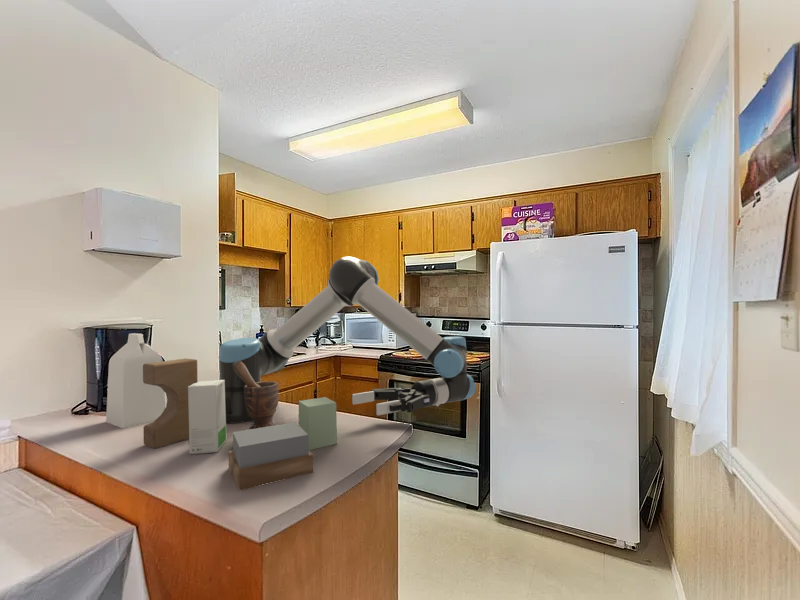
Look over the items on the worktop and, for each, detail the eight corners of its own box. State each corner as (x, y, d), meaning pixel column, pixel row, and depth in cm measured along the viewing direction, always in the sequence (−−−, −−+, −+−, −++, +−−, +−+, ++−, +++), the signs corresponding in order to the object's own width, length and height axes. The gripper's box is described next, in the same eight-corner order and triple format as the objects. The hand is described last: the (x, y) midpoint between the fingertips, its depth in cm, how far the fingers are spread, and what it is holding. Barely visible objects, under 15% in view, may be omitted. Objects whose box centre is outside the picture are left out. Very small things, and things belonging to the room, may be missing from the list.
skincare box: (217, 453, 91) (216, 385, 92) (186, 455, 90) (185, 386, 90) (227, 440, 100) (226, 378, 100) (199, 442, 99) (198, 379, 99)
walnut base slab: (228, 470, 83) (228, 451, 83) (295, 455, 90) (294, 438, 90) (239, 493, 72) (239, 471, 72) (313, 474, 80) (313, 454, 80)
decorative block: (153, 449, 94) (152, 365, 95) (142, 445, 98) (141, 363, 98) (199, 436, 103) (198, 359, 104) (188, 432, 107) (187, 358, 107)
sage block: (299, 441, 98) (298, 401, 98) (325, 436, 102) (325, 397, 102) (309, 449, 92) (308, 406, 92) (336, 443, 96) (336, 402, 96)
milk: (106, 421, 118) (105, 334, 119) (148, 412, 128) (147, 332, 128) (123, 428, 112) (122, 335, 112) (166, 418, 121) (165, 333, 121)
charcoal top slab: (233, 451, 82) (232, 432, 83) (295, 440, 89) (295, 422, 89) (239, 468, 74) (239, 446, 74) (308, 454, 80) (308, 434, 80)
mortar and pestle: (255, 445, 96) (254, 362, 96) (227, 441, 99) (226, 361, 100) (285, 430, 107) (284, 356, 107) (260, 427, 110) (259, 355, 110)
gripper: (457, 415, 105) (389, 430, 94) (406, 397, 126) (344, 408, 115) (457, 386, 105) (388, 398, 94) (405, 374, 126) (344, 382, 115)
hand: (364, 404), depth 104 cm, fingers open, 13 cm apart
